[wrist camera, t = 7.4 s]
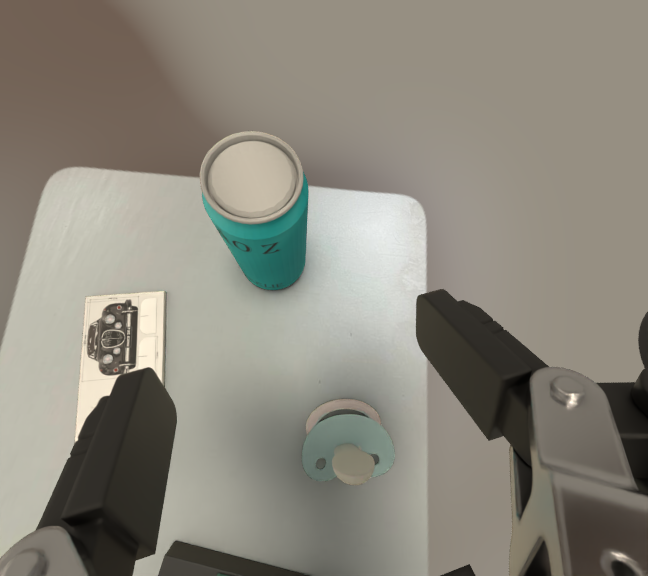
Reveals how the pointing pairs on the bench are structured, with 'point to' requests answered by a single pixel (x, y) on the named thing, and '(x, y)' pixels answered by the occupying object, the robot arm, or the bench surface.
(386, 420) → the bench surface
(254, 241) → the beverage can
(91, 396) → the car cutout
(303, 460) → the pacifier
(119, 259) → the bench surface
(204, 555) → the scale
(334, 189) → the bench surface
